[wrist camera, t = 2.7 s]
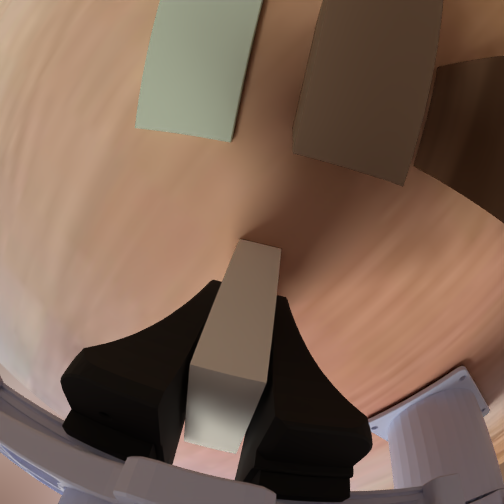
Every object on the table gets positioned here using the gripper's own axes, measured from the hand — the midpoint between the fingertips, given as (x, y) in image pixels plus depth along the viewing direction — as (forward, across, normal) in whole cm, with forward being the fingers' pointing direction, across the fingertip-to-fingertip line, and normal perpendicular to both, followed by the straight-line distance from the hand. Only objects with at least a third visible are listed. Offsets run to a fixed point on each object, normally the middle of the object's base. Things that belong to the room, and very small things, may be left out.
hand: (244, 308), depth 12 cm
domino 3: (+2, -6, -9) cm, 11 cm away
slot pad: (+2, +4, -9) cm, 10 cm away
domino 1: (+2, 0, 0) cm, 2 cm away
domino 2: (+2, -1, -9) cm, 10 cm away
